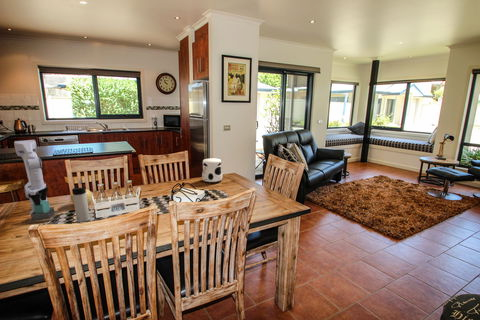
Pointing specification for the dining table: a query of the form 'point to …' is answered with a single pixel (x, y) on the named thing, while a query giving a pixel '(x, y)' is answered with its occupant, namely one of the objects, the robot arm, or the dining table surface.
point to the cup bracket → (43, 215)
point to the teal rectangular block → (42, 207)
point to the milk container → (212, 170)
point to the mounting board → (42, 219)
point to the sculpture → (89, 197)
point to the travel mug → (81, 204)
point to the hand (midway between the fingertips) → (40, 202)
